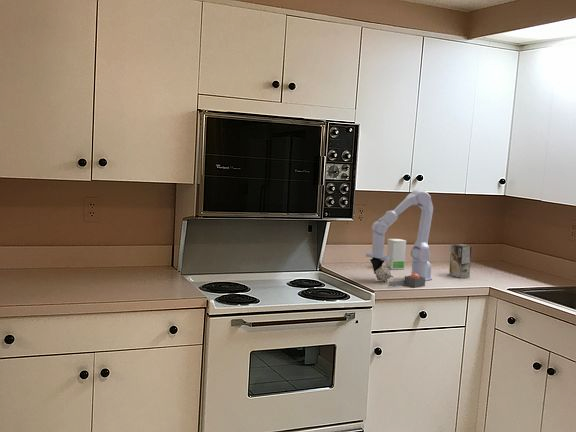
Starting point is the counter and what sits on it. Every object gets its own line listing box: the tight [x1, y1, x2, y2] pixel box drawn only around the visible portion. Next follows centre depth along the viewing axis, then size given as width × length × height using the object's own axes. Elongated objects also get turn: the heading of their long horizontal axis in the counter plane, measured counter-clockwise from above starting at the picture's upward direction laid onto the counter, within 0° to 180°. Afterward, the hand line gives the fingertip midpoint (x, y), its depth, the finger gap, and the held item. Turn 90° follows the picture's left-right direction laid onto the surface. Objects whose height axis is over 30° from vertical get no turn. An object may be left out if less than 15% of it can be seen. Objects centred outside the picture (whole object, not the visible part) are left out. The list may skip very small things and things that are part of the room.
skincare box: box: [385, 238, 407, 270], centre depth 347 cm, size 8×7×16 cm
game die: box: [375, 264, 394, 283], centre depth 313 cm, size 9×8×10 cm
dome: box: [409, 273, 420, 279], centre depth 308 cm, size 5×5×5 cm
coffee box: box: [448, 243, 472, 279], centre depth 334 cm, size 9×6×16 cm
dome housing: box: [404, 275, 426, 288], centre depth 308 cm, size 7×7×4 cm
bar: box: [388, 279, 405, 287], centre depth 306 cm, size 9×1×2 cm, turn 126°
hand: (376, 273), depth 317 cm, fingers closed
